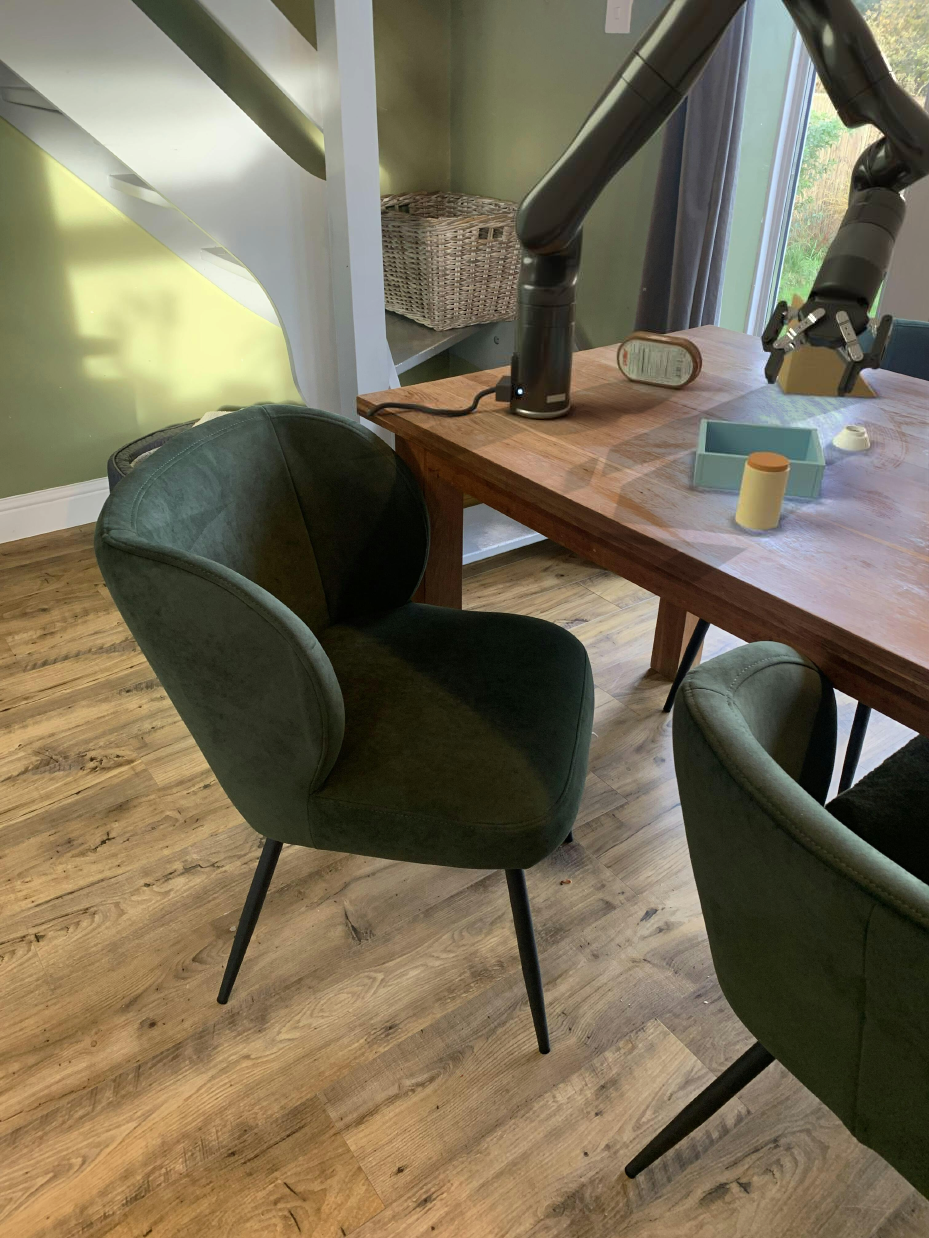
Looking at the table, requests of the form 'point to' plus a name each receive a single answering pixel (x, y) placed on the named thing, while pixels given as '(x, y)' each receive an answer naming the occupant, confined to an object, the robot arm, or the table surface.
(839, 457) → the table surface
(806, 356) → the sandwich container
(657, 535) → the table surface
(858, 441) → the cream truncated cone
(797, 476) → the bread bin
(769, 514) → the lidded cream canister
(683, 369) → the tin
